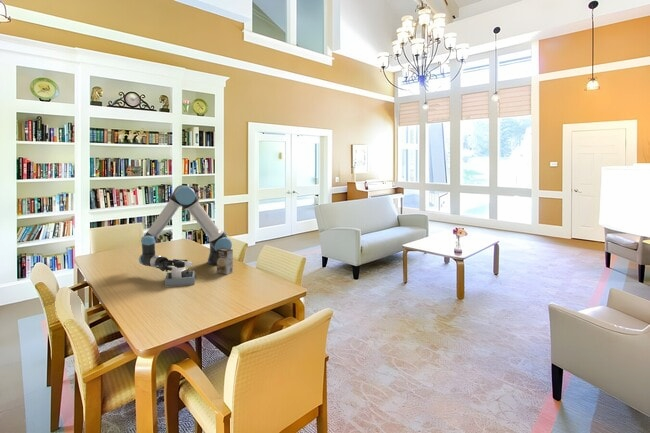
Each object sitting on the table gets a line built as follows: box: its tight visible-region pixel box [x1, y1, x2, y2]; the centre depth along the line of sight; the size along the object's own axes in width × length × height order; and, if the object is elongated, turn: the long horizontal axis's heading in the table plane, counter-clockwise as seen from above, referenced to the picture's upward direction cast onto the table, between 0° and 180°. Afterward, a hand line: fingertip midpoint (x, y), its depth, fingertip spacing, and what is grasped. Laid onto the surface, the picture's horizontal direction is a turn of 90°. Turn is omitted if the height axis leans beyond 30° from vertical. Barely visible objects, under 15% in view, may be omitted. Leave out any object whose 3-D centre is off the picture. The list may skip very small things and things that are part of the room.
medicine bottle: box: [170, 261, 190, 278], centre depth 219 cm, size 7×7×12 cm
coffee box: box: [216, 248, 234, 275], centre depth 240 cm, size 9×6×16 cm
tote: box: [164, 270, 196, 288], centre depth 220 cm, size 16×14×4 cm
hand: (184, 267), depth 217 cm, fingers open, 11 cm apart
